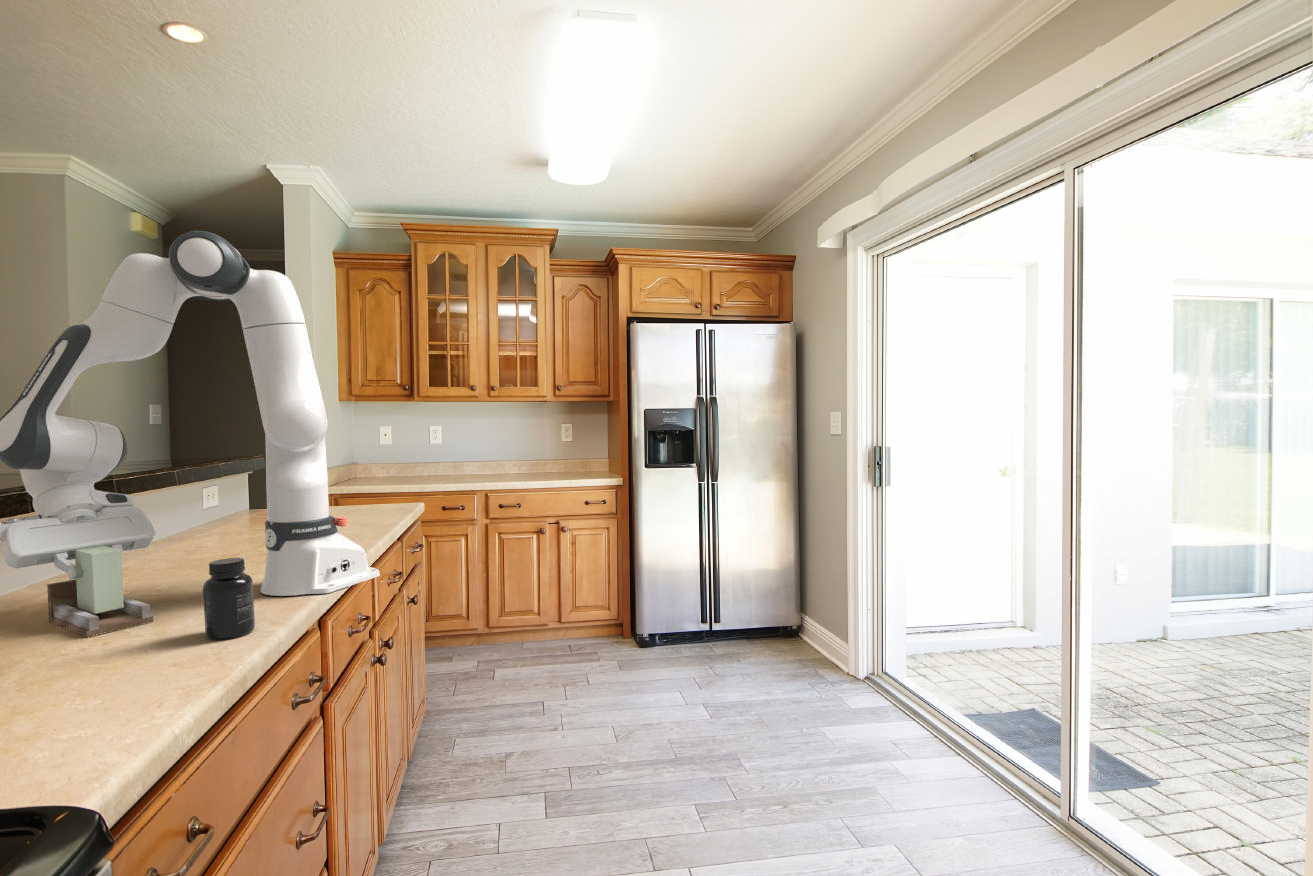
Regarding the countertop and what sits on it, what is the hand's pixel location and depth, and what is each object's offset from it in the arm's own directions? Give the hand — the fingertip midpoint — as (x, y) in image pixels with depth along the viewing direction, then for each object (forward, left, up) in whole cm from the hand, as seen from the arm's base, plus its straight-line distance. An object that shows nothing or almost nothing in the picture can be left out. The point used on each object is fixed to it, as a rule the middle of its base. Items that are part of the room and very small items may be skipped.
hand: (97, 573), depth 114 cm
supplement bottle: (-8, +27, -9) cm, 29 cm away
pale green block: (0, +1, -6) cm, 6 cm away
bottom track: (0, +1, -8) cm, 8 cm away
